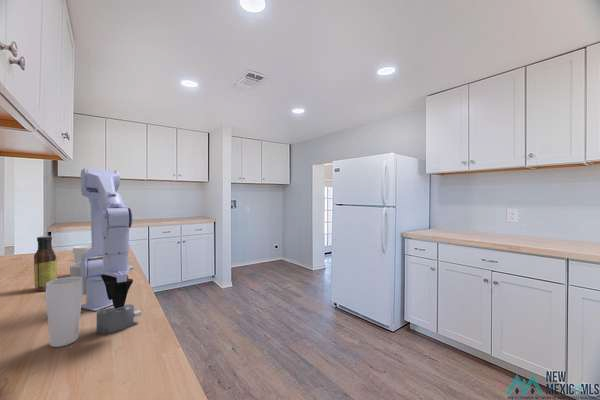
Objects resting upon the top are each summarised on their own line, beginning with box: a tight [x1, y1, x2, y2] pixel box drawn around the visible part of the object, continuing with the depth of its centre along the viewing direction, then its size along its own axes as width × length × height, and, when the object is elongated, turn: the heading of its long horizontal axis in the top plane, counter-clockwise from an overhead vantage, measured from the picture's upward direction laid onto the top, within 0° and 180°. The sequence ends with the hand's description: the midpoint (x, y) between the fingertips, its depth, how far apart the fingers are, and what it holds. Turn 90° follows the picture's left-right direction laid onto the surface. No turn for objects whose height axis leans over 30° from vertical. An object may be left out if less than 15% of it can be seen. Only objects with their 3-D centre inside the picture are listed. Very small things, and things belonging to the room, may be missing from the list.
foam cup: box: [72, 243, 99, 264], centre depth 120 cm, size 10×9×13 cm
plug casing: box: [95, 303, 142, 336], centre depth 74 cm, size 10×4×5 cm, turn 134°
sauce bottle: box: [33, 235, 58, 292], centre depth 102 cm, size 6×6×20 cm
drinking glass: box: [45, 276, 84, 348], centre depth 66 cm, size 7×7×15 cm
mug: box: [69, 262, 87, 295], centre depth 101 cm, size 11×10×10 cm
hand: (116, 302), depth 73 cm, fingers open, 7 cm apart
